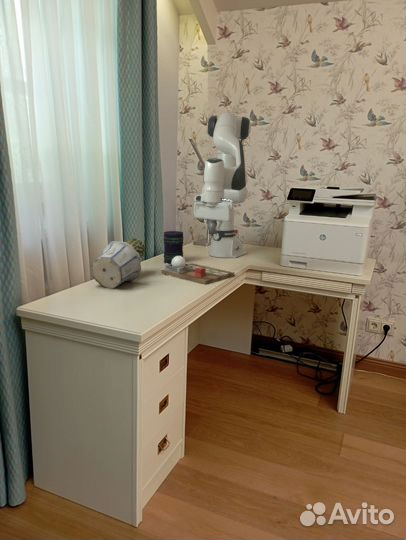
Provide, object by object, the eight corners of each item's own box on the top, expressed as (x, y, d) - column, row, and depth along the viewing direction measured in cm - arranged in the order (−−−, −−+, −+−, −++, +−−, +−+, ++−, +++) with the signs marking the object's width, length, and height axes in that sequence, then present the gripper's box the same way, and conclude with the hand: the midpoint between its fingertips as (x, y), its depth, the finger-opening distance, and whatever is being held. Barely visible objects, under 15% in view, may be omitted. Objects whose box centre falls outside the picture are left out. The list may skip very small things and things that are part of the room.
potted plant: (122, 255, 158) (155, 226, 183) (81, 254, 164) (118, 225, 189) (131, 296, 166) (161, 263, 191) (91, 293, 171) (125, 261, 197)
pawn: (212, 232, 188) (213, 215, 186) (218, 233, 186) (219, 216, 184) (207, 233, 186) (207, 215, 184) (212, 234, 183) (213, 216, 181)
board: (191, 266, 206) (191, 256, 205) (234, 275, 189) (234, 265, 188) (161, 273, 192) (161, 263, 190) (204, 284, 175) (204, 273, 174)
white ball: (178, 267, 195) (178, 253, 194) (188, 270, 191) (188, 255, 190) (168, 269, 191) (168, 255, 189) (178, 272, 187) (178, 258, 185)
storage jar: (186, 263, 212) (186, 233, 208) (167, 264, 208) (167, 234, 205) (179, 259, 221) (179, 230, 217) (161, 260, 217) (160, 231, 214)
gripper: (237, 199, 178) (236, 232, 181) (201, 196, 191) (200, 226, 194) (228, 199, 173) (227, 233, 176) (191, 196, 186) (191, 228, 190)
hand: (213, 230), depth 185 cm, fingers closed on pawn, 4 cm apart
